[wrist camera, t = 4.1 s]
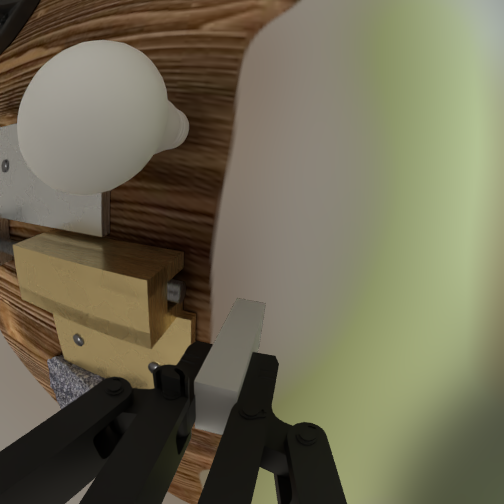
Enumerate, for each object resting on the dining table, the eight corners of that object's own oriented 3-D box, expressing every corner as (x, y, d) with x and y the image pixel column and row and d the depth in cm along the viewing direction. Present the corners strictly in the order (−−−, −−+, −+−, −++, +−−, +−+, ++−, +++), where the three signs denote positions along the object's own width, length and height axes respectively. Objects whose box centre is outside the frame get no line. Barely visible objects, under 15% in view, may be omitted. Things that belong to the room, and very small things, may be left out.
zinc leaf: (-5, 130, 19) (-41, 133, 14) (204, 106, 16) (167, 88, 11) (-1, 254, 23) (-34, 269, 18) (189, 311, 20) (158, 351, 15)
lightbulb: (119, 128, 17) (-21, 123, 7) (186, 65, 15) (65, -8, 5) (167, 198, 18) (28, 246, 8) (243, 136, 16) (144, 99, 6)
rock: (116, 410, 19) (128, 472, 21) (147, 378, 24) (150, 443, 27) (27, 355, 21) (47, 422, 24) (60, 337, 27) (73, 401, 29)
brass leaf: (48, 227, 20) (6, 242, 16) (198, 254, 18) (164, 284, 14) (70, 354, 25) (41, 380, 20) (195, 400, 23) (175, 442, 18)
